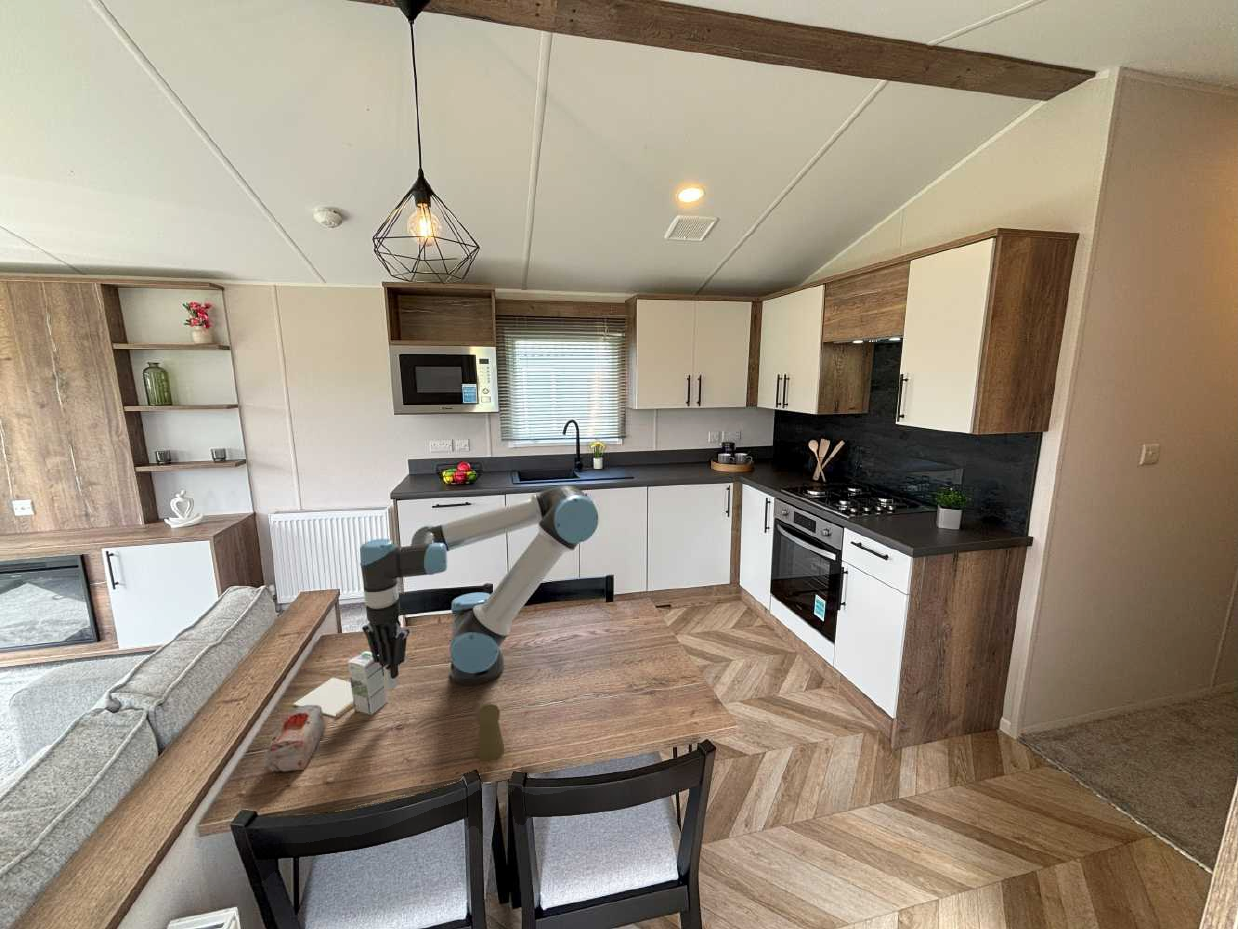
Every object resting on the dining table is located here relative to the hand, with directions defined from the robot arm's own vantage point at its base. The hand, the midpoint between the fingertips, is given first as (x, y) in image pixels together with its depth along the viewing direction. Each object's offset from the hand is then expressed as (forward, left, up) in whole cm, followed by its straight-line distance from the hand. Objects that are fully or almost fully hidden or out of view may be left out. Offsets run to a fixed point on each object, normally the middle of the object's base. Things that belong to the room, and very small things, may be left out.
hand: (392, 687), depth 126 cm
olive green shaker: (-31, +3, -8) cm, 32 cm away
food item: (+11, +18, -8) cm, 22 cm away
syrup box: (+8, 0, -8) cm, 11 cm away
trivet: (+21, 0, -8) cm, 22 cm away
